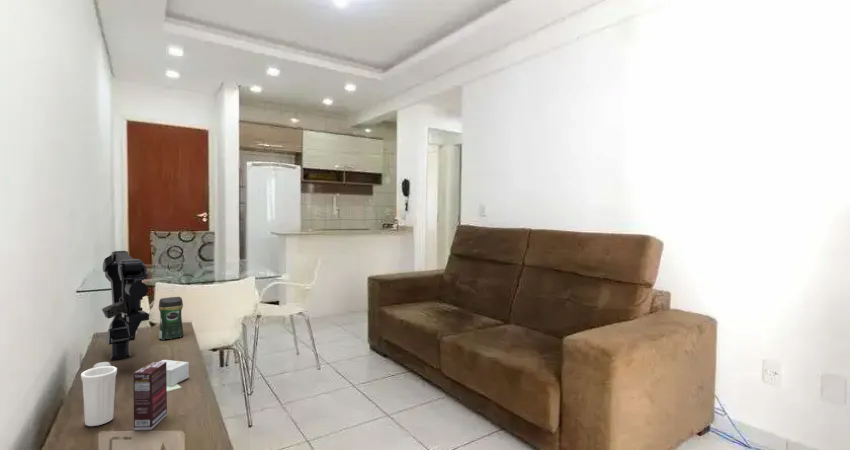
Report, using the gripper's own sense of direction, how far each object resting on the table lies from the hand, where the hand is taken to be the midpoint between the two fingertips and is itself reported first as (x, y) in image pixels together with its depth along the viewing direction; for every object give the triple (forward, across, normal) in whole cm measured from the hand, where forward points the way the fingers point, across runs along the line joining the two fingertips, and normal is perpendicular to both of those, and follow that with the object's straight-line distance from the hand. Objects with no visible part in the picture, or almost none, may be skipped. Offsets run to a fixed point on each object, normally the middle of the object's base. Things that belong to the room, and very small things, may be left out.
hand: (131, 336), depth 157 cm
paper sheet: (+12, +25, +1) cm, 28 cm away
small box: (+9, +17, +2) cm, 19 cm away
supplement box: (+12, +49, -9) cm, 51 cm away
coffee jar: (+12, -30, +24) cm, 40 cm away
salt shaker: (+12, +28, -15) cm, 34 cm away
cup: (+12, +38, -18) cm, 44 cm away
